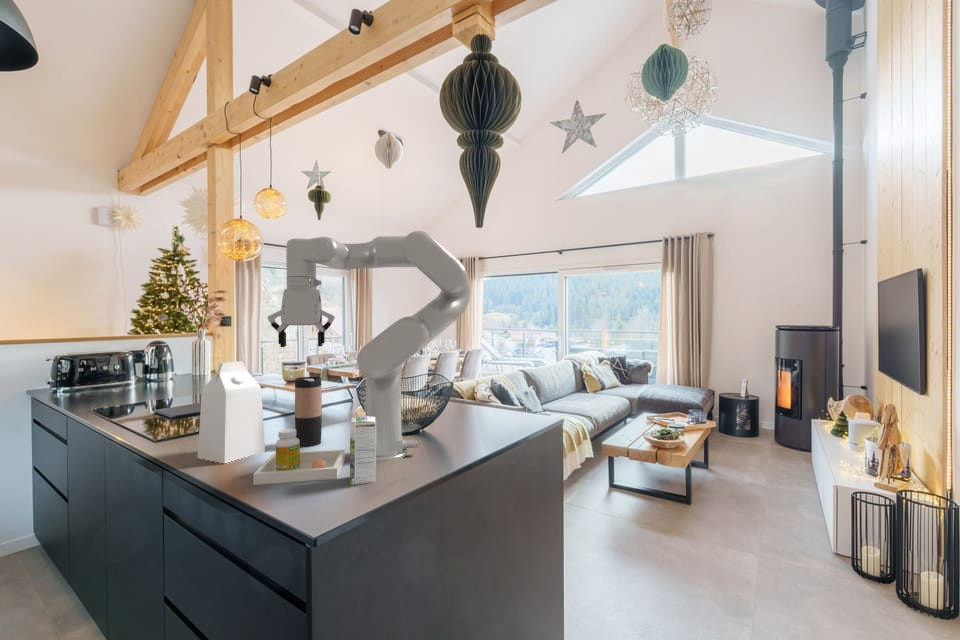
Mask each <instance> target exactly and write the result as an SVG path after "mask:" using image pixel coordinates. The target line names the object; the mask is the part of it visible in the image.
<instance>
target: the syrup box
mask: <svg viewBox="0 0 960 640" xmlns="http://www.w3.org/2000/svg"><path fill="white" fill-rule="evenodd" d="M349 438H350V439H349V440H350V441H349V486H356V485H364V484H372V483H377V461H376V417H370V416H366V415H365V416H364V415H363V416H354V417H351V419H350V435H349Z"/></svg>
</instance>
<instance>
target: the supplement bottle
mask: <svg viewBox="0 0 960 640" xmlns="http://www.w3.org/2000/svg"><path fill="white" fill-rule="evenodd" d="M300 448H301V447H300V441H299V439H298V438H296V429H295V428H285V429H281V430H279V431H278V440H277V441H276V442H275V454H276V471H285V470H299V468H300V452H301V451H300V450H301V449H300Z"/></svg>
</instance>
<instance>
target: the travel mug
mask: <svg viewBox="0 0 960 640" xmlns="http://www.w3.org/2000/svg"><path fill="white" fill-rule="evenodd" d="M322 395H323V394H322V377H320V376H303V377H296V378H295V379H294V424H295V425H294V426H295V427H294V429H296V436H295V437H296V438H298V439H299V441H300V448H311V447H315V446H319V445H320V444H321V443H322V425H323V424H322V423H323V410H322V409H323V408H322V406H323V405H322V404H323V403H322V401H323V399H322Z"/></svg>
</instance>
